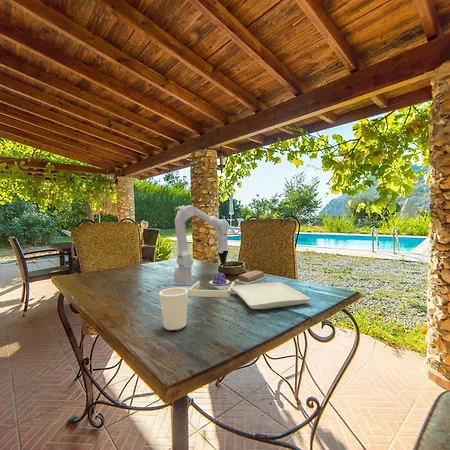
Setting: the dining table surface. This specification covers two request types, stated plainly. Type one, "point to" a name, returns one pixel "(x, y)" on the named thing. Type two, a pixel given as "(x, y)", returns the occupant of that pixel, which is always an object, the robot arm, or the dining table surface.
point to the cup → (174, 308)
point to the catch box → (209, 291)
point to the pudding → (219, 279)
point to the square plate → (269, 295)
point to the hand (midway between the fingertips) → (223, 263)
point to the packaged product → (250, 277)
